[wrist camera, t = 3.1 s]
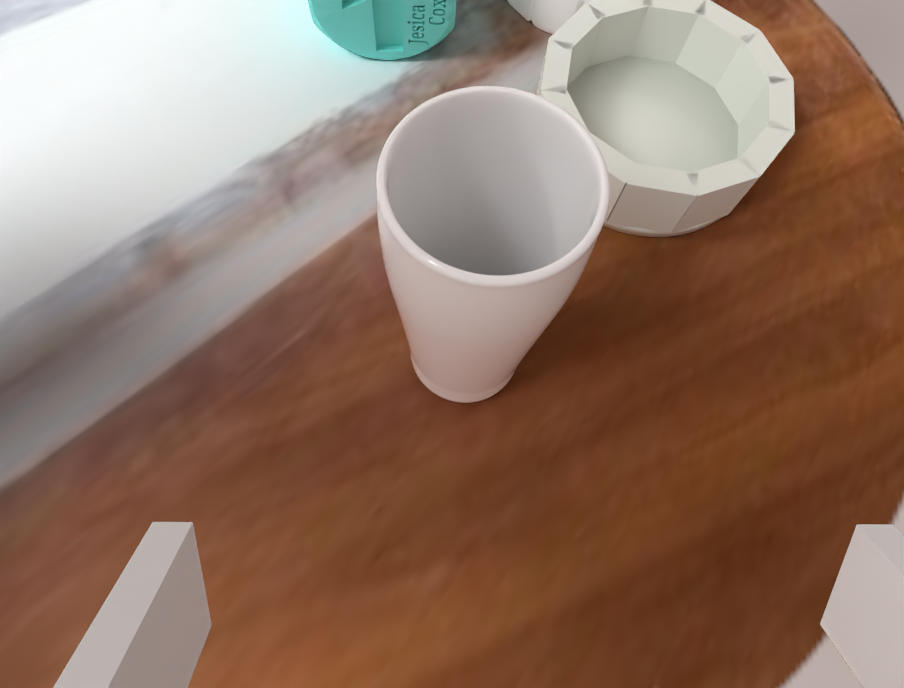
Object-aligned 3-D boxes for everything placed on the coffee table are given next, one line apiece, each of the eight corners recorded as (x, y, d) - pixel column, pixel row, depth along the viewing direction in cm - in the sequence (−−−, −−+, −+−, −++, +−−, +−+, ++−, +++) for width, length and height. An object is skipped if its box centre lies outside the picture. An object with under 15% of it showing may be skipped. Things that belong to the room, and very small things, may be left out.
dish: (516, 215, 35) (528, 167, 31) (544, 36, 39) (558, -27, 35) (753, 255, 34) (796, 212, 30) (754, 70, 39) (792, 11, 35)
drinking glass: (512, 437, 30) (587, 317, 16) (377, 397, 31) (337, 247, 17) (544, 313, 33) (635, 114, 19) (419, 278, 33) (415, 56, 19)
